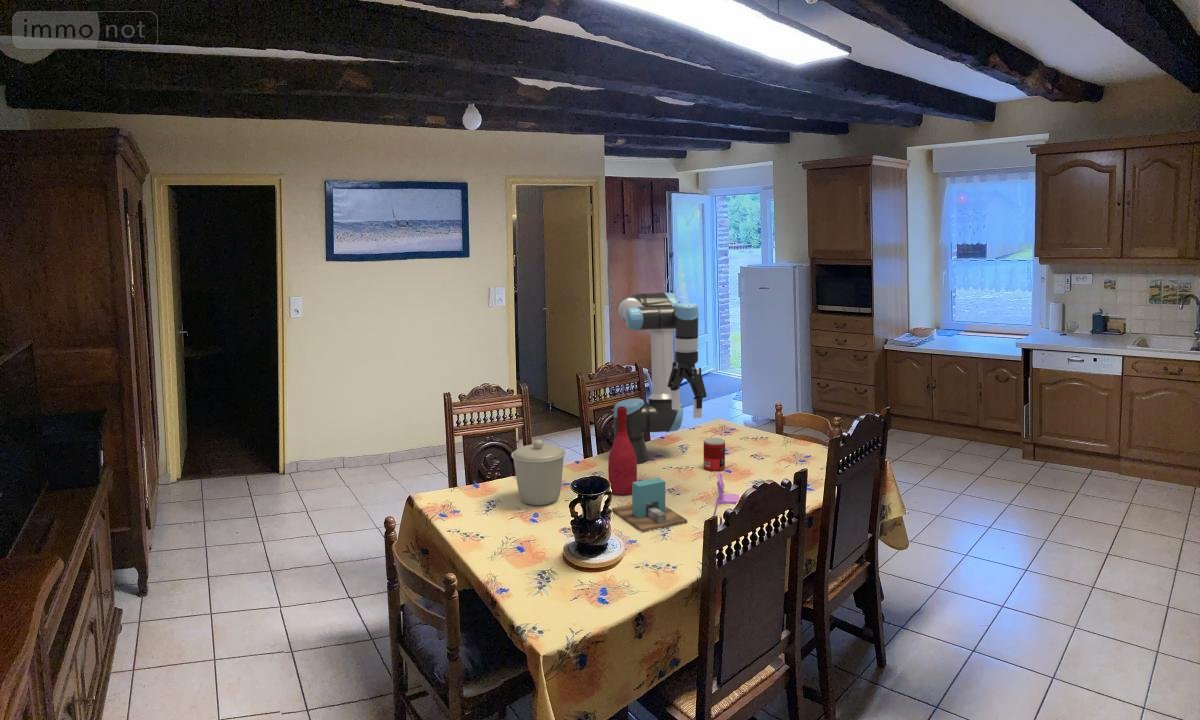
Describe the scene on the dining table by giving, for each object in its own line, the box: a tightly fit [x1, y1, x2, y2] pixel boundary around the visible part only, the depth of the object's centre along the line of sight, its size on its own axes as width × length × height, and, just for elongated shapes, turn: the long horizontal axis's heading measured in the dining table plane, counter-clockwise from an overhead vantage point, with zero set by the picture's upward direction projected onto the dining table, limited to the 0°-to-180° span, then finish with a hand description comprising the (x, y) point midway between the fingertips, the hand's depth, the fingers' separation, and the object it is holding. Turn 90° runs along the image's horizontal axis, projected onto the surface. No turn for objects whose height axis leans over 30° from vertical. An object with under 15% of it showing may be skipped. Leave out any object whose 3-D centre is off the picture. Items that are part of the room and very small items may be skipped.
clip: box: [631, 477, 666, 519], centre depth 247 cm, size 9×4×10 cm, turn 116°
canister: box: [510, 439, 567, 506], centre depth 262 cm, size 18×18×21 cm
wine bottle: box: [607, 407, 638, 496], centre depth 269 cm, size 10×10×30 cm
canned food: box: [703, 437, 726, 472], centre depth 294 cm, size 8×8×11 cm
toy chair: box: [712, 472, 740, 517], centre depth 243 cm, size 8×9×15 cm
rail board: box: [611, 502, 688, 533], centre depth 248 cm, size 20×16×4 cm
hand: (686, 413), depth 261 cm, fingers open, 13 cm apart
